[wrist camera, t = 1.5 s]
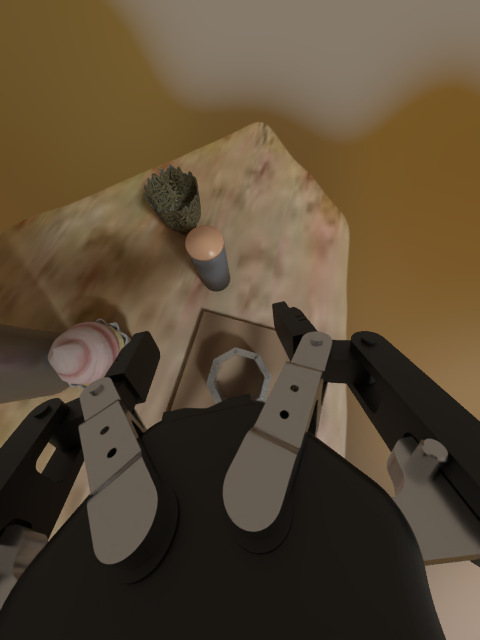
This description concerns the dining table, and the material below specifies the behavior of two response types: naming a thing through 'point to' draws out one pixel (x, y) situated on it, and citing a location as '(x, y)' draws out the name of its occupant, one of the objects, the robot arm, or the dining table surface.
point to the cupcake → (86, 351)
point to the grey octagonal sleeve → (218, 361)
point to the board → (228, 361)
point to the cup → (175, 199)
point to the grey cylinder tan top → (209, 256)
